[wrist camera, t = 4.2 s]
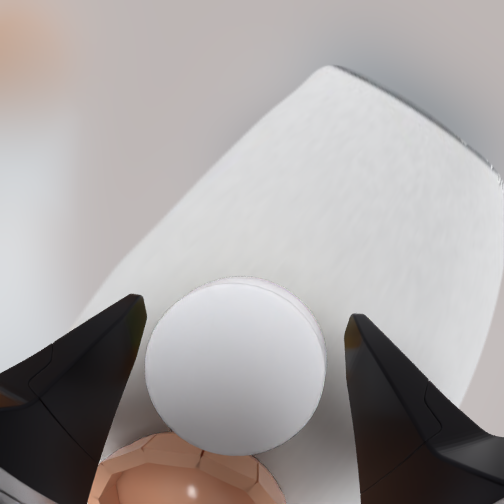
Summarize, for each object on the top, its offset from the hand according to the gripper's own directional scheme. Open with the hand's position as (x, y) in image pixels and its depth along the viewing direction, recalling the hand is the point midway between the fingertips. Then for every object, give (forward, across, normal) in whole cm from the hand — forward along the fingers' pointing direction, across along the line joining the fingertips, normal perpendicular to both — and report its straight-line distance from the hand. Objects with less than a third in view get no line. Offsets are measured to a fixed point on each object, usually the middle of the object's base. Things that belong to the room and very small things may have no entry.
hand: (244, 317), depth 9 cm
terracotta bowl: (-4, +2, +13) cm, 14 cm away
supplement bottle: (+4, 0, +6) cm, 7 cm away
